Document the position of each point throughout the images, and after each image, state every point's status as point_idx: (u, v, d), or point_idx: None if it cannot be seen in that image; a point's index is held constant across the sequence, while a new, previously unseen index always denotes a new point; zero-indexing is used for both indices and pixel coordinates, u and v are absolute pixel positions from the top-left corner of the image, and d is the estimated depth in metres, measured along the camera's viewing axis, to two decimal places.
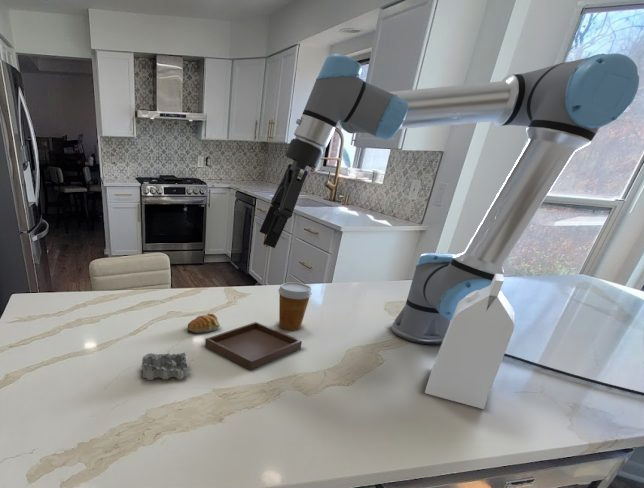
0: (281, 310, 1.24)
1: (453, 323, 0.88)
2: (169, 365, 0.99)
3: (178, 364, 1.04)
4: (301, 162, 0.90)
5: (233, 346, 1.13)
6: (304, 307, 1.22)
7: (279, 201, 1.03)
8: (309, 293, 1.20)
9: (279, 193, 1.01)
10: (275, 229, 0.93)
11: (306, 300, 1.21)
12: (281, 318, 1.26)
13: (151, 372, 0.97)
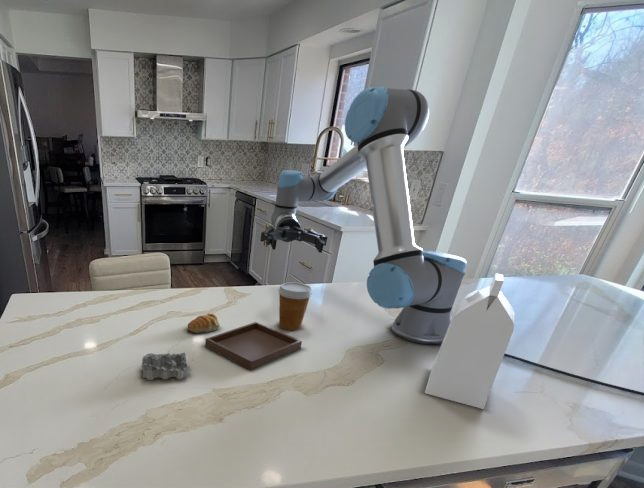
0: (281, 310, 1.24)
1: (453, 323, 0.88)
2: (169, 365, 0.99)
3: (178, 364, 1.04)
4: None
5: (233, 346, 1.13)
6: (304, 307, 1.22)
7: (313, 239, 1.31)
8: (309, 293, 1.20)
9: (307, 240, 1.33)
10: (268, 242, 1.27)
11: (306, 300, 1.21)
12: (281, 318, 1.26)
13: (151, 372, 0.97)
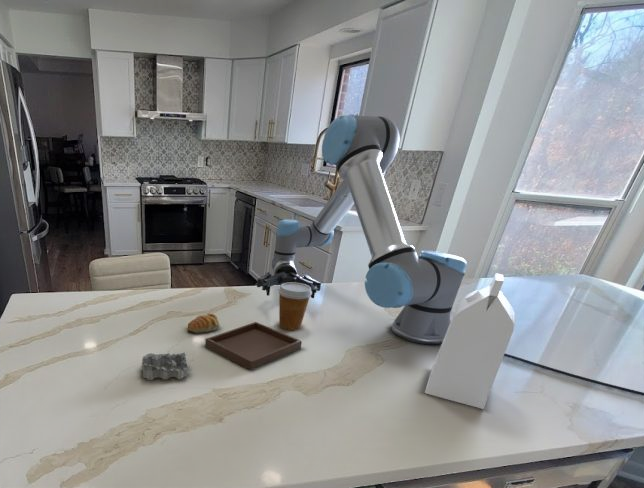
0: (281, 310, 1.24)
1: (453, 323, 0.88)
2: (169, 365, 0.99)
3: (178, 364, 1.04)
4: None
5: (233, 346, 1.13)
6: (304, 307, 1.22)
7: None
8: (309, 293, 1.20)
9: None
10: (263, 288, 1.35)
11: (306, 300, 1.21)
12: (281, 318, 1.26)
13: (151, 372, 0.97)
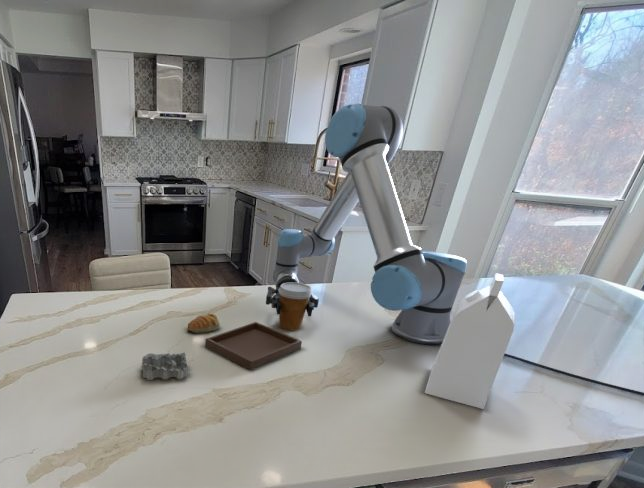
0: (281, 310, 1.24)
1: (453, 323, 0.88)
2: (169, 365, 0.99)
3: (178, 364, 1.04)
4: None
5: (233, 346, 1.13)
6: (304, 307, 1.22)
7: None
8: (309, 293, 1.20)
9: None
10: (272, 306, 1.25)
11: (306, 300, 1.21)
12: (281, 318, 1.26)
13: (151, 372, 0.97)
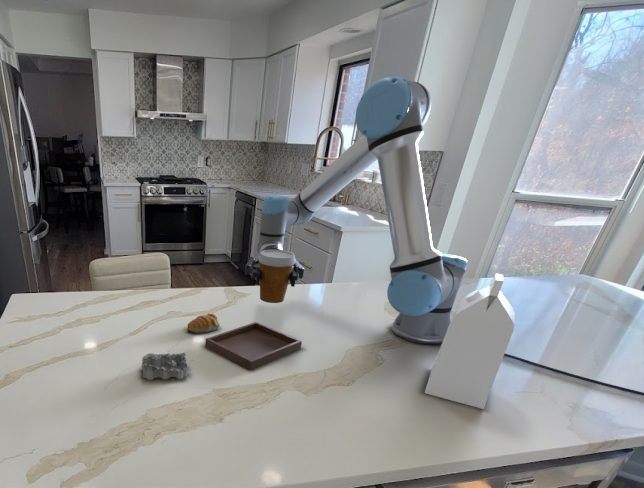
0: (261, 280, 1.10)
1: (453, 323, 0.88)
2: (169, 365, 0.99)
3: (178, 364, 1.04)
4: None
5: (233, 346, 1.13)
6: (286, 276, 1.08)
7: None
8: (292, 260, 1.06)
9: None
10: (252, 276, 1.11)
11: (289, 268, 1.07)
12: (261, 290, 1.12)
13: (151, 372, 0.97)
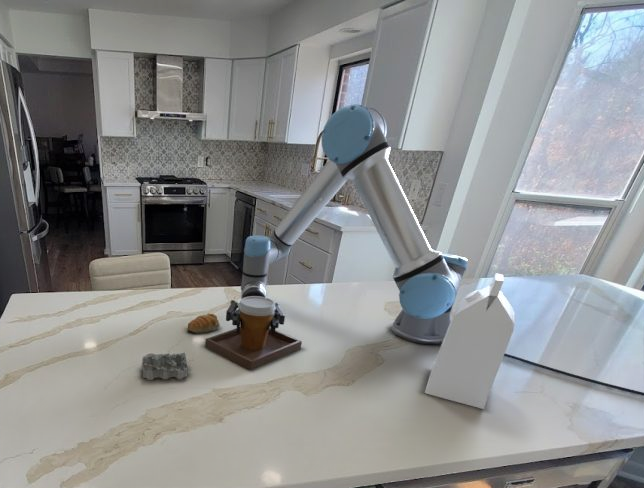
0: (242, 327, 1.10)
1: (453, 323, 0.88)
2: (169, 365, 0.99)
3: (178, 364, 1.04)
4: None
5: (233, 346, 1.13)
6: (267, 324, 1.08)
7: None
8: (272, 309, 1.06)
9: None
10: (232, 323, 1.11)
11: (269, 317, 1.07)
12: (242, 336, 1.12)
13: (151, 372, 0.97)
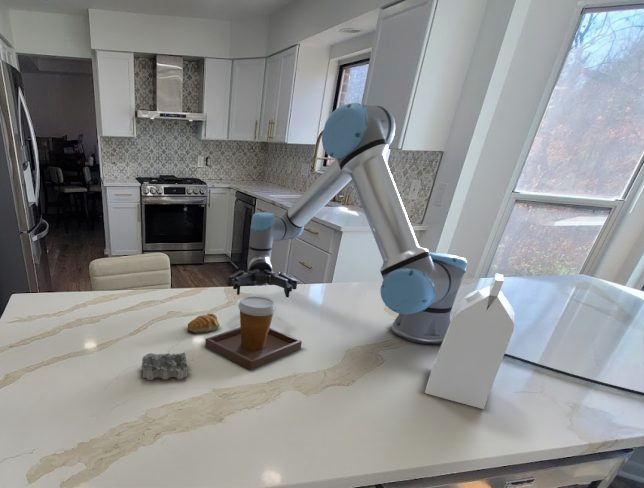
0: (242, 327, 1.10)
1: (453, 323, 0.88)
2: (169, 365, 0.99)
3: (178, 364, 1.04)
4: None
5: (233, 346, 1.13)
6: (267, 324, 1.08)
7: (282, 283, 1.25)
8: (272, 309, 1.06)
9: (277, 284, 1.27)
10: (233, 286, 1.23)
11: (269, 317, 1.07)
12: (242, 336, 1.12)
13: (151, 372, 0.97)
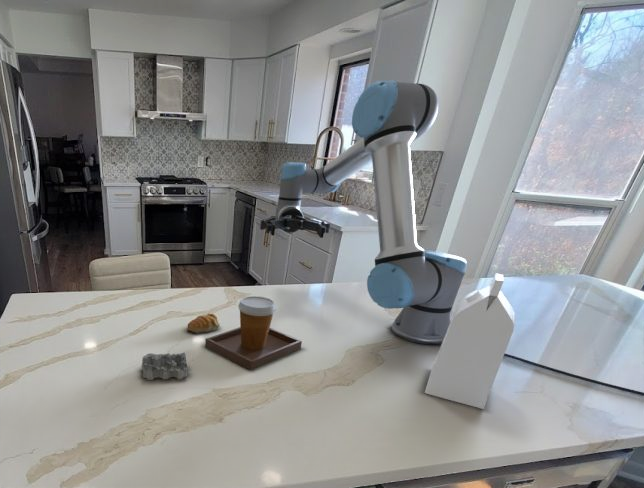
0: (242, 327, 1.10)
1: (453, 323, 0.88)
2: (169, 365, 0.99)
3: (178, 364, 1.04)
4: None
5: (233, 346, 1.13)
6: (267, 324, 1.08)
7: (315, 226, 1.27)
8: (272, 309, 1.06)
9: (309, 228, 1.29)
10: (267, 229, 1.24)
11: (269, 317, 1.07)
12: (242, 336, 1.12)
13: (151, 372, 0.97)
